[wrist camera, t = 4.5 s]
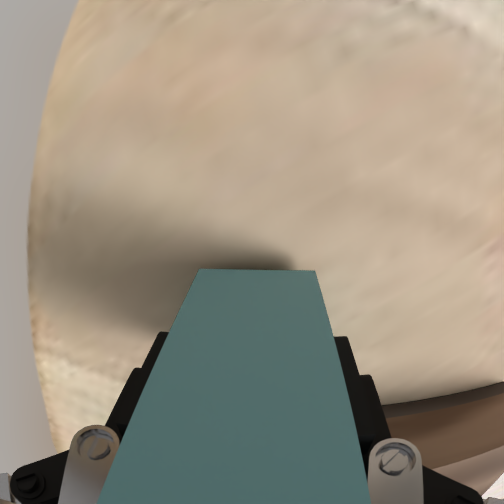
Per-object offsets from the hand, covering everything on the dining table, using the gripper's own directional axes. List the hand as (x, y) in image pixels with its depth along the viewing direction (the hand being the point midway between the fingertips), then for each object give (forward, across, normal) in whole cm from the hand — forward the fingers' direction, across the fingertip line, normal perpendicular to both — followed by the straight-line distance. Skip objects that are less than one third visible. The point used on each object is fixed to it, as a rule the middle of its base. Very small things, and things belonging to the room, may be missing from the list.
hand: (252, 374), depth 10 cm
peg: (+3, 0, 0) cm, 3 cm away
